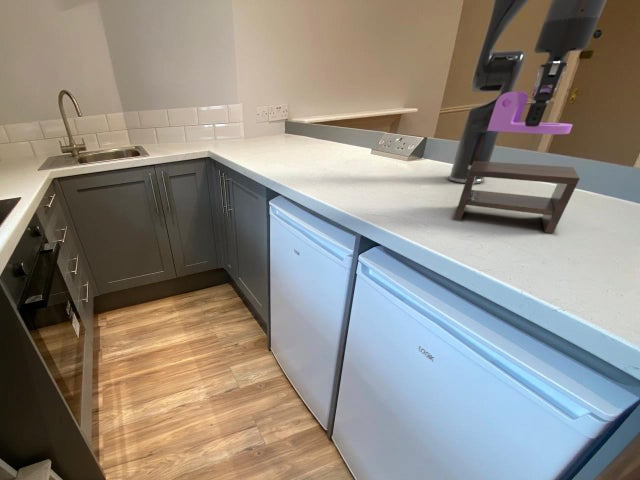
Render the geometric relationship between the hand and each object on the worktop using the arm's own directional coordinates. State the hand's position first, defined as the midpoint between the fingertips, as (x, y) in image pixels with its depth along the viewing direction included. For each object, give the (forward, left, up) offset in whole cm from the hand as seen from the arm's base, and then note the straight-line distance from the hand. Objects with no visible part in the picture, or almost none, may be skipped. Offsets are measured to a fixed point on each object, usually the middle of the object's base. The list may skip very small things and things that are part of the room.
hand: (531, 124), depth 68 cm
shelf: (0, +1, -19) cm, 19 cm away
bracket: (0, 0, -1) cm, 1 cm away
